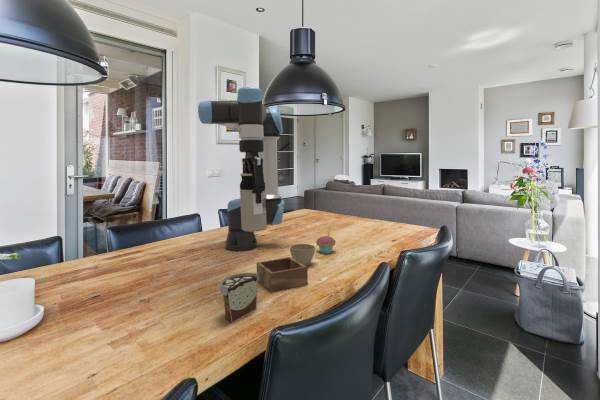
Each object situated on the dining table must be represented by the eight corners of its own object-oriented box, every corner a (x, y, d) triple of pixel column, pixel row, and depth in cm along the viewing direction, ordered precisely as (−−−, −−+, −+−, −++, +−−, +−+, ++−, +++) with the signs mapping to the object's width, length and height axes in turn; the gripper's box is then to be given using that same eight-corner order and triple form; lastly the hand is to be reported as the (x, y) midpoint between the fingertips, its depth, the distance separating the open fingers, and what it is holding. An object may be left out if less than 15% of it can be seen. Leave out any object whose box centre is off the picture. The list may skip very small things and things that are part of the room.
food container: (244, 302, 97) (243, 269, 95) (260, 307, 93) (259, 273, 92) (211, 319, 86) (209, 282, 85) (227, 326, 83) (225, 287, 82)
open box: (257, 279, 115) (256, 262, 114) (290, 272, 121) (290, 256, 120) (271, 292, 104) (271, 273, 103) (307, 284, 110) (307, 267, 109)
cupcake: (337, 250, 150) (337, 224, 148) (332, 255, 142) (332, 228, 140) (319, 248, 153) (318, 223, 151) (313, 253, 145) (313, 227, 143)
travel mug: (236, 231, 104) (234, 174, 102) (250, 226, 111) (248, 172, 109) (258, 233, 101) (256, 174, 99) (270, 227, 108) (269, 172, 106)
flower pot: (313, 269, 125) (312, 250, 124) (287, 267, 127) (287, 249, 126) (317, 261, 134) (316, 244, 134) (293, 260, 136) (292, 243, 136)
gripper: (231, 141, 110) (233, 208, 113) (249, 137, 92) (252, 218, 95) (252, 141, 113) (254, 206, 116) (274, 137, 95) (276, 215, 98)
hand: (253, 211), depth 105 cm, fingers closed on travel mug, 8 cm apart
